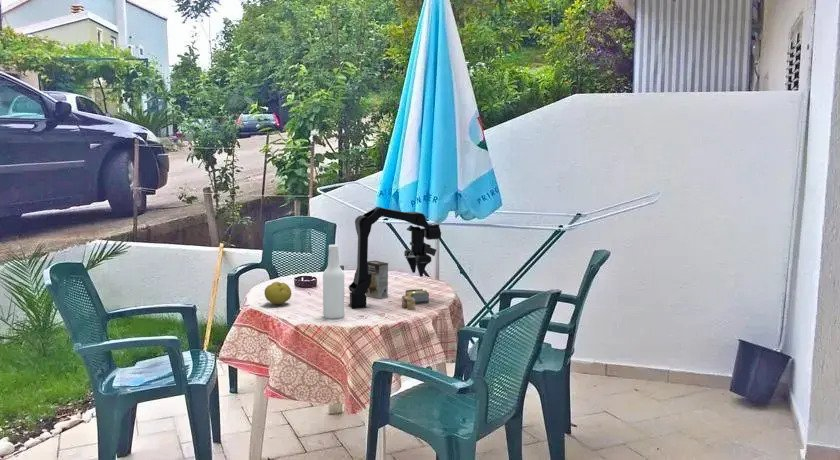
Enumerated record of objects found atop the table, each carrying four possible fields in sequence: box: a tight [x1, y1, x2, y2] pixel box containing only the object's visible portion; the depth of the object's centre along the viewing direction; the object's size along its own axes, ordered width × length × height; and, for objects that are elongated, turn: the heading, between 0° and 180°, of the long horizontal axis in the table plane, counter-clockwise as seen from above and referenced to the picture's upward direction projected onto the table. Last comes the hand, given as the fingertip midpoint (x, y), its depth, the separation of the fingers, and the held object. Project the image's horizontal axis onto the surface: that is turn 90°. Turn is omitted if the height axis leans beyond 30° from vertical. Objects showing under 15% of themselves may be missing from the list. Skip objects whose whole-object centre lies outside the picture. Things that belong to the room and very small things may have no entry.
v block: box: [405, 288, 430, 305], centre depth 331 cm, size 8×9×5 cm
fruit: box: [264, 281, 292, 306], centre depth 323 cm, size 11×12×10 cm
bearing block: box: [401, 294, 416, 311], centre depth 320 cm, size 3×8×4 cm, turn 21°
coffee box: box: [365, 260, 389, 300], centre depth 340 cm, size 9×6×16 cm
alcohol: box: [322, 243, 346, 320], centre depth 302 cm, size 9×9×30 cm
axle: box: [405, 289, 428, 296], centre depth 331 cm, size 9×3×3 cm, turn 111°
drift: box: [401, 301, 408, 310], centre depth 320 cm, size 5×3×3 cm, turn 109°
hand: (417, 274), depth 330 cm, fingers open, 9 cm apart
